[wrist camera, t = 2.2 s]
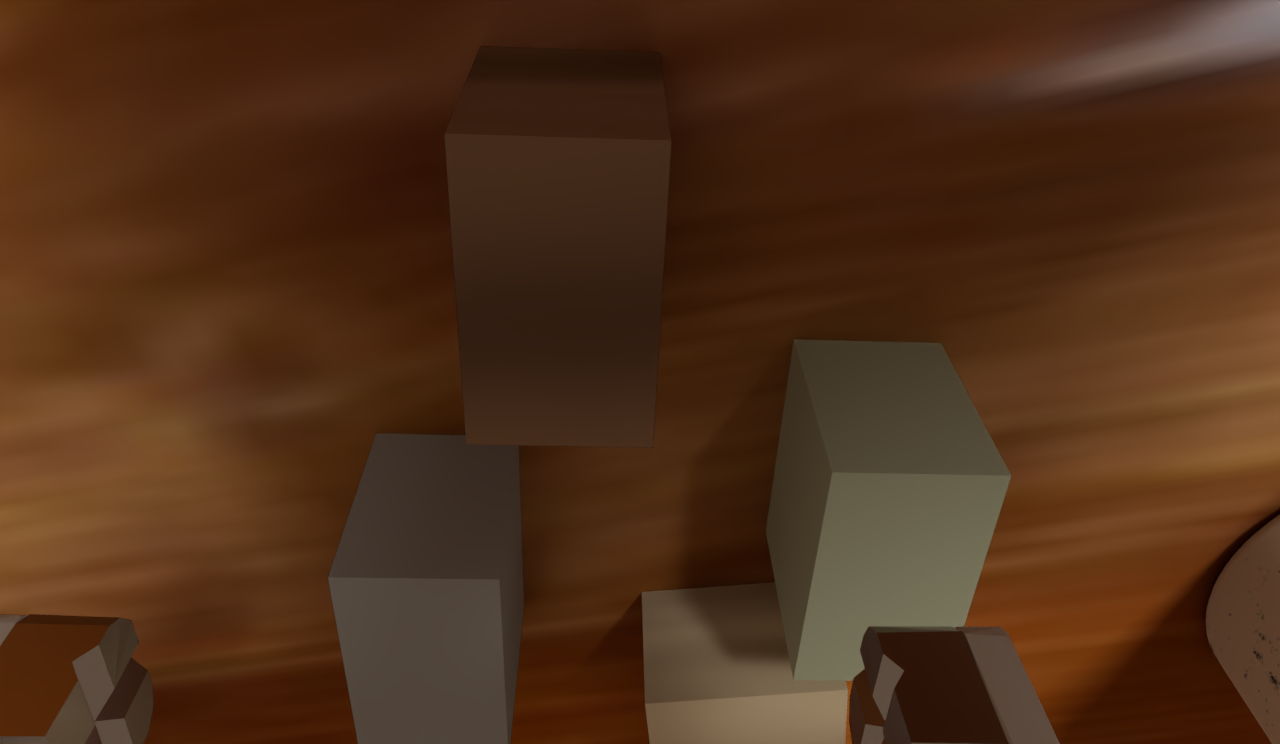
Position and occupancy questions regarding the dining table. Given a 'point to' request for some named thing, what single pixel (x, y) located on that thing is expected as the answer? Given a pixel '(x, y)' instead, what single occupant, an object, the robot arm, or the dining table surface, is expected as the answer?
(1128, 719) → the dining table surface
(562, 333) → the walnut block
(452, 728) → the grey block
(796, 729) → the maple block
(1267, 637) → the teacup with lid
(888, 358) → the sage block
